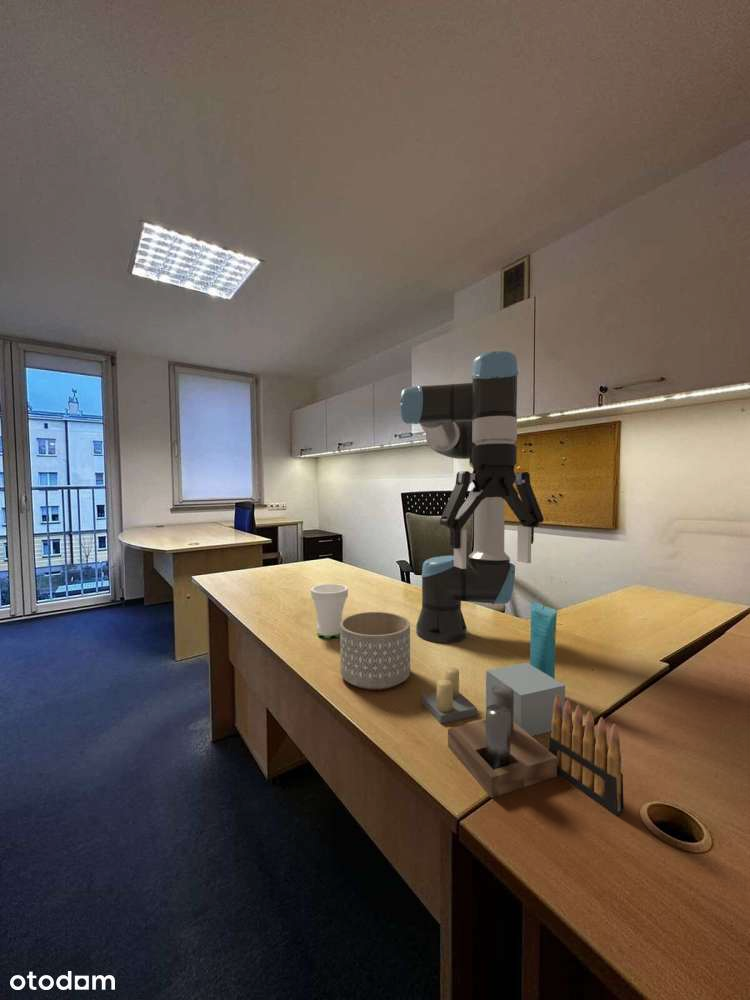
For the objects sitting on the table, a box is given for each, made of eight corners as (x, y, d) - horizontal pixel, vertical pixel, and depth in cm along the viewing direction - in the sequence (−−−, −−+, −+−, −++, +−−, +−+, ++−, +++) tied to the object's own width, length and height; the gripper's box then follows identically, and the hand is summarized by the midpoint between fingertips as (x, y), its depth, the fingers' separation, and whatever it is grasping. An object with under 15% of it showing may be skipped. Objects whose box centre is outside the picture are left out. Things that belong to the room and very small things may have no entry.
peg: (499, 764, 63) (500, 702, 63) (515, 779, 59) (515, 715, 59) (480, 769, 62) (481, 707, 61) (495, 785, 58) (496, 720, 58)
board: (454, 694, 84) (454, 664, 84) (476, 715, 76) (477, 682, 76) (421, 702, 81) (421, 671, 81) (440, 723, 74) (440, 689, 73)
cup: (328, 625, 126) (328, 581, 126) (355, 633, 120) (355, 586, 119) (303, 636, 117) (302, 589, 117) (330, 645, 110) (330, 595, 110)
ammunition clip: (547, 767, 62) (548, 692, 62) (555, 763, 63) (556, 690, 63) (616, 816, 53) (618, 729, 52) (624, 811, 54) (625, 725, 53)
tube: (564, 699, 82) (565, 608, 81) (548, 704, 80) (549, 611, 79) (535, 683, 89) (536, 599, 88) (520, 688, 87) (521, 602, 86)
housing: (526, 700, 82) (526, 662, 81) (564, 727, 72) (565, 685, 72) (485, 709, 78) (486, 670, 78) (520, 740, 69) (521, 695, 69)
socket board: (505, 730, 71) (505, 677, 71) (556, 776, 60) (557, 712, 60) (447, 746, 67) (448, 688, 67) (491, 798, 56) (492, 729, 56)
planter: (424, 676, 92) (424, 622, 92) (374, 702, 81) (374, 642, 80) (375, 654, 104) (375, 607, 104) (326, 675, 93) (325, 622, 92)
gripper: (535, 448, 76) (533, 556, 77) (420, 444, 68) (420, 565, 69) (565, 444, 69) (564, 563, 70) (442, 438, 61) (441, 574, 62)
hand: (493, 564), depth 69 cm, fingers open, 13 cm apart
